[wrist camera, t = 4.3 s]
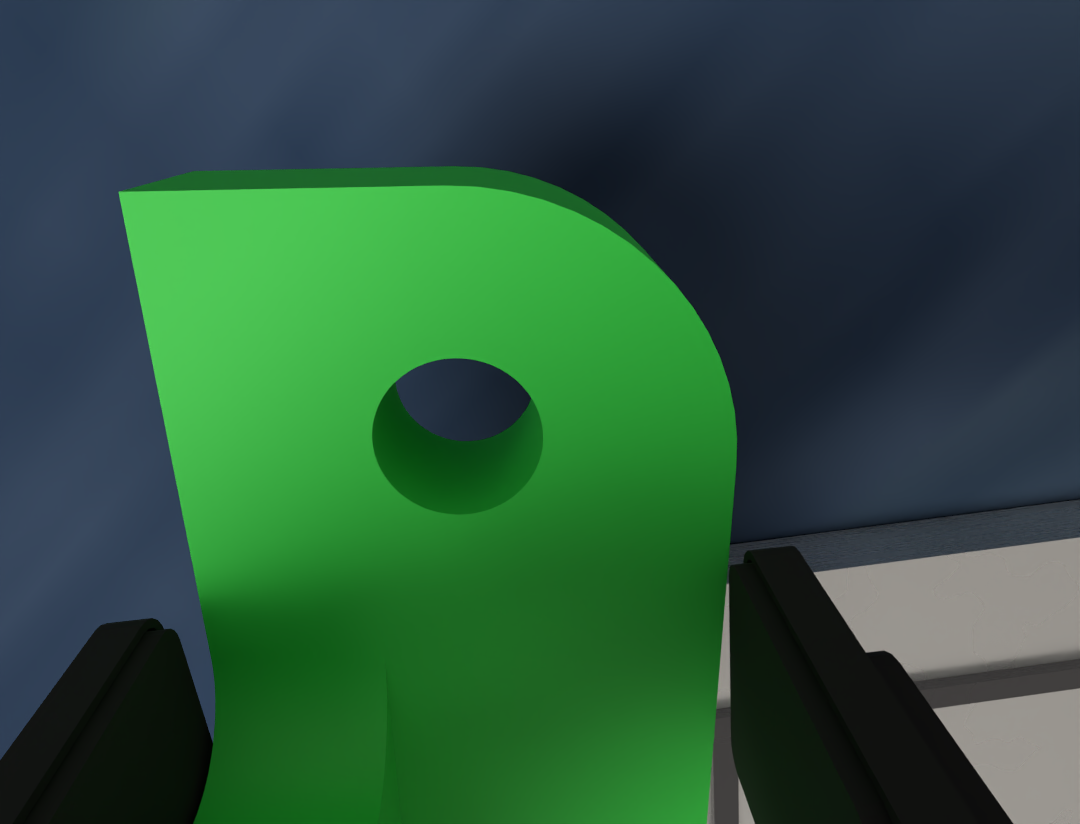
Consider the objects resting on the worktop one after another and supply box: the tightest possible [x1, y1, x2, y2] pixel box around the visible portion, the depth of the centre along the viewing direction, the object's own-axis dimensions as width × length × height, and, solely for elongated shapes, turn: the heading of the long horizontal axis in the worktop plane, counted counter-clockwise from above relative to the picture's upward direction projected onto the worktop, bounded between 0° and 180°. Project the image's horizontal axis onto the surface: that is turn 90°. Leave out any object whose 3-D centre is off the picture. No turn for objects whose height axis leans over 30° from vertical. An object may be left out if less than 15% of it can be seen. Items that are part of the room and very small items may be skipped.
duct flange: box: [707, 500, 1080, 824], centre depth 22 cm, size 16×16×2 cm
